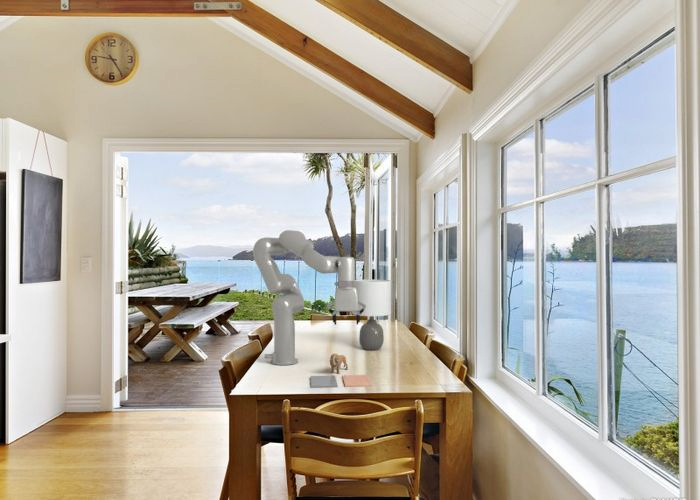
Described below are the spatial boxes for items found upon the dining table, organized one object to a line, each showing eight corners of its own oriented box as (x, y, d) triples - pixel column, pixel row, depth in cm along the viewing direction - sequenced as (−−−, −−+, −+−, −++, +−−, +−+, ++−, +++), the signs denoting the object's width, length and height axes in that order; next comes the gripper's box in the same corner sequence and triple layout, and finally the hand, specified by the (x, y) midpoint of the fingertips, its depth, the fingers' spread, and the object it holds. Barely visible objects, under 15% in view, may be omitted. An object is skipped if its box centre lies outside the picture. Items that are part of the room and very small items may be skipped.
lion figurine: (339, 376, 208) (339, 354, 208) (327, 375, 209) (327, 353, 209) (349, 368, 222) (349, 348, 222) (338, 367, 223) (338, 347, 223)
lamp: (345, 347, 271) (345, 280, 271) (377, 344, 281) (377, 279, 281) (364, 354, 253) (365, 282, 253) (398, 350, 263) (398, 281, 263)
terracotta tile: (345, 388, 191) (345, 385, 191) (342, 378, 207) (342, 375, 207) (371, 388, 191) (371, 384, 191) (366, 377, 207) (366, 374, 207)
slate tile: (311, 389, 189) (311, 386, 189) (310, 378, 205) (310, 375, 205) (337, 388, 190) (337, 385, 190) (335, 378, 206) (335, 375, 206)
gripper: (326, 285, 215) (326, 325, 214) (366, 285, 214) (366, 325, 214) (327, 284, 222) (327, 323, 222) (365, 284, 222) (365, 323, 222)
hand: (346, 324), depth 218 cm, fingers open, 9 cm apart
